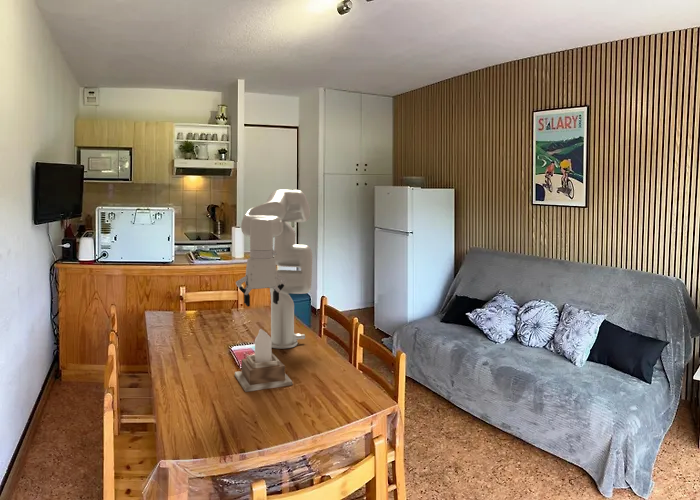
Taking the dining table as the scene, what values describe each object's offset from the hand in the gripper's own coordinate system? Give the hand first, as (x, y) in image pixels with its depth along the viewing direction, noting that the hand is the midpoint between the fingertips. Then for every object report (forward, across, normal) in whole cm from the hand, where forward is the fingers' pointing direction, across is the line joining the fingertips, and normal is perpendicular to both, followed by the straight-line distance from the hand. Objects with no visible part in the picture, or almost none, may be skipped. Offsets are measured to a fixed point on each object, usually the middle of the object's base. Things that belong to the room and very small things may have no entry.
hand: (261, 304), depth 180 cm
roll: (+20, 0, +1) cm, 20 cm away
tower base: (+26, 0, +1) cm, 26 cm away
